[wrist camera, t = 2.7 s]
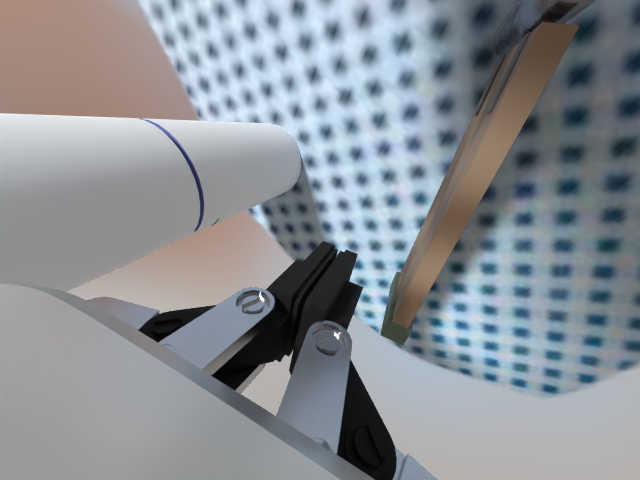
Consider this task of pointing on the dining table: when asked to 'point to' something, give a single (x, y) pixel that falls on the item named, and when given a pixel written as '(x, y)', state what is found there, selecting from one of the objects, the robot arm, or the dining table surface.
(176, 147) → the cylindrical container
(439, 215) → the wooden plank on edge
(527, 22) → the hinge post
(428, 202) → the dining table surface
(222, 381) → the robot arm
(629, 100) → the dining table surface
